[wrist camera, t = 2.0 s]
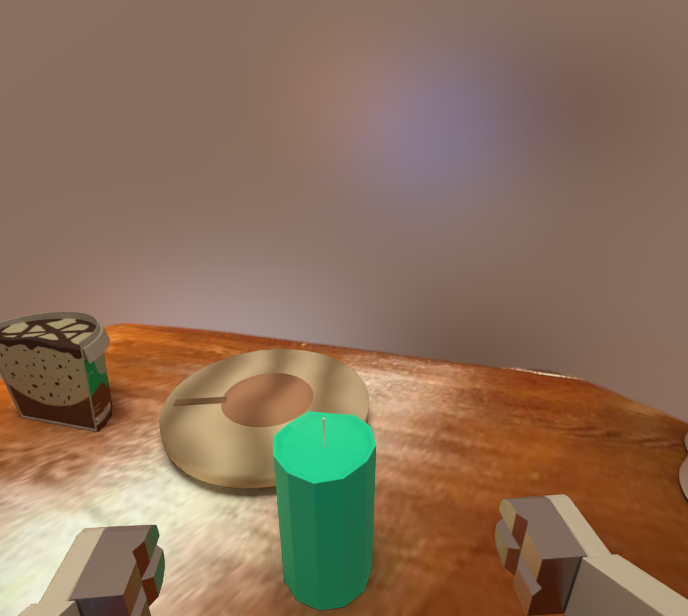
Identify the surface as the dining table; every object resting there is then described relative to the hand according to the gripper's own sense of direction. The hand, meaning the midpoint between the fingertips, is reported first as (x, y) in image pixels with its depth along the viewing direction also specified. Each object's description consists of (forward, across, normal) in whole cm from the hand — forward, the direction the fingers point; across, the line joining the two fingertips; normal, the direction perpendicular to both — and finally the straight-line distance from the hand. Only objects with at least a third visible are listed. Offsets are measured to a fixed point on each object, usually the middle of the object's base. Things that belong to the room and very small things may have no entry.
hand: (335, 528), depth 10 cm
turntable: (+28, +5, +17) cm, 33 cm away
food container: (+32, +25, +18) cm, 45 cm away
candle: (+12, 0, +18) cm, 22 cm away
